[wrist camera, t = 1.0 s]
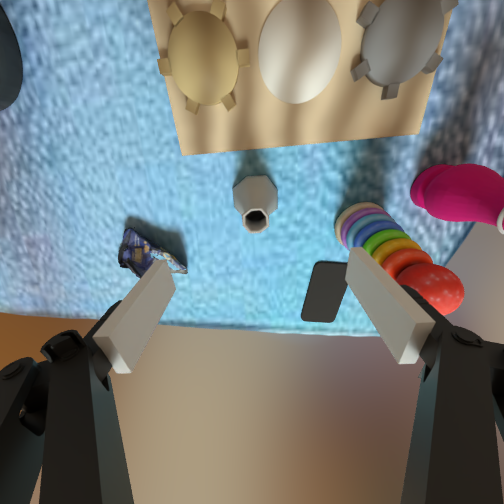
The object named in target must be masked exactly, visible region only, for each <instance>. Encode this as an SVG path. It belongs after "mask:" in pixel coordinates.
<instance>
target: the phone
mask: <svg viewBox="0 0 504 504" xmlns="http://www.w3.org/2000/svg"><path fill="white" fill-rule="evenodd" d="M347 265H348V264H347V263H334V262H318V263H316V264H315V265H314V268H313V272H312V275H311V279H310V283H309V287H308V290H307V294H306V298H305V301H304V305H303V309H302V313H301V319H302V320H303V321H309V322H325V323H330V322H333V321H334V320H335V318H336V315H337V312H338V310H339V307H340V304H341V301H342V299H343V296H344V293H345V291H346V288H347V285H348V284H347V282H346V280H345V277H346V271H347Z"/></svg>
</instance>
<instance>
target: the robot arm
mask: <svg viewBox="0 0 504 504" xmlns="http://www.w3.org/2000/svg"><path fill="white" fill-rule="evenodd" d="M21 84H22V62H21V56H20V52H19V48H18V44H17V41H16V38H15V36H14V33H13V31H12V28H11V26H10V24H9V22H8V20H7V18H6V16H5V14H4V12H3V10H2V8H1V7H0V111H1V110H4V109H6V108H7V107H9V106H10V105H11V104H12V103H13V102H14V101H15V100H16V98H17V96H18V94H19V92H20V89H21ZM345 280H346V282H347V284H348V285H349V287H350V288H351V290H352V291H353V293H354V295H355V296H356V298H357V299H358V301H359V303H360V304H361V306H362V307H363V309H364V310H365V312H366V314H367V315H368V317H369V318H370V320H371V321H372V323H373V325H374V326H375V328H376V329H377V331H378V333H379V334H380V336H381V337H382V339H383V340H384V342H385V343H386V345H387V347H388V348H389V350H390V351H391V353H392V354H393V356H394V358H395V359H396V361H397V363H398V364H415V363H416V361H417V359H418V357H419V355H420V357H421V358H422V359H423V361H424V362H425V365H424V367H423V369H422V371H421V372H420V374H419V376H418V378H421V383H420V389H419V395H418V401H417V407H416V413H415V420H414V425H413V431H412V437H411V443H410V449H409V456H408V461H407V467H406V473H405V479H404V486H403V491H402V497H401V504H503V496H502V487H501V476H500V467H499V457H498V446H497V437H496V427H495V421H496V424H497V426H498V429H499V431H500V434H501V436H502V438H503V441H504V344H499V343H494V342H489V341H484V340H483V339H482V338H481V337H480V336H478V335H476V334H475V333H473V332H472V331H470V330H467V329H465V328H462V327H458V326H453V325H452V324H451V323H450V322H449V321H448V320H447V319H446V318H445V317H444V316H443V315H442V314H441V313H439V312H438V311H437V310H436V309H435V308H434V307H433V306H432V305H431V304H429V302H428V301H427V300H426V299H424V298H423V296H421V295H420V294H419V293H418V292H417V291H416V290H415V289H413V288H411V287H409V286H408V285H399V284H398V283H397V282H396V281H395V280H394V279H393V278H392V277H391V276H390V275H389V274H388V273H387V272H386V271H385V270H384V269H383V268H382V267H381V266H380V265H379V264H378V263H377V262H376V261H375V260H374V259H373V258H372V257H371V256H370V255H369V254H368V253H367V252H366V251H365V250H364V249H363V248H362V247H352V248H350V253H349V259H348V265H347V271H346V277H345ZM175 290H176V287H175V284H174V281H173V278H172V275H171V272H170V269H169V266H168V263H167V260H166V259H165V260H156V261H155V262H154V263H153V264H152V265H151V267H150V268H149V269H148V270H147V272H146V273H145V274H144V275H143V276H142V278H141V279H140V280H139V281H138V282H137V284H136V285H135V286H134V287H133V288H132V290H131V291H130V292H129V293H128V295H127V296H126V297H125V298H124V299H123V300H119V301H118V302H116V303H115V304H114V305H112V306H111V307H110V308H109V309H108V310H107V312H106V313H105V315H103V316H102V317H101V318H100V321H98V322H97V323H96V324H95V325H94V327H93V328H92V329H91V330H90V331H89V332H88V333H87V335H86V336H85V337H84V338H82V337H81V336H80V334H79V333H78V331H76V330H67V331H64V332H61V333H59V334H57V335H56V336H54V337H52V338H51V339H50V340H48V341H47V342H46V343H45V344H44V345H43V346H42V348H41V351H40V352H41V353H42V354H43V355H44V356H45V357H46V358H47V360H46V361H43V362H40V363H37V362H36V361H34V359H33V358H31V357H26V358H21V359H19V360H17V361H14V362H12V363H10V364H9V365H7V366H6V367H4V368H3V369H2V370H1V371H0V504H30V501H31V497H32V494H33V491H34V488H35V485H36V482H37V479H38V476H39V473H40V469H41V466H42V475H41V486H40V499H39V504H134V501H133V495H132V490H131V484H130V479H129V474H128V469H127V463H126V458H125V453H124V448H123V442H122V437H121V432H120V427H119V421H118V416H117V410H116V405H115V400H114V395H113V389H112V384H111V379H110V376H109V375H108V372H109V371H110V369H111V367H113V368H114V370H115V371H116V372H117V373H132V371H133V369H134V367H135V365H136V363H137V362H138V360H139V358H140V356H141V354H142V352H143V350H144V348H145V347H146V345H147V343H148V341H149V339H150V337H151V335H152V333H153V331H154V330H155V328H156V326H157V324H158V322H159V320H160V318H161V317H162V315H163V313H164V311H165V309H166V307H167V305H168V303H169V301H170V300H171V298H172V296H173V294H174V292H175ZM20 410H22V411H21V414H20ZM19 414H20V416H19Z"/></svg>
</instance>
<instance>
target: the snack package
mask: <svg viewBox="0 0 504 504" xmlns="http://www.w3.org/2000/svg"><path fill="white" fill-rule="evenodd" d="M134 228H135V227H134ZM127 247H128V248H127ZM126 248H127V249H126ZM124 249H125V250H124ZM150 253H154V254H155V253H157V254H159V255H161V256H163V257H165V258H166V259H167V260H169V261H170V262H171V263H172V264H173V265H175V266H176V267H177V268H179V269H180V270H173V269H172V268H170V267H169V269H170V272H171V273H182V274H187V273H188V272H187V268H186V267H185V266H183V265H182V264H181V263H179V261H178V260H177V259H176V258H175V257H174V256H173V255H172V254H170V252H168V251H166V250H165V249H163V247H161V246H159V245H157V244H155V243H153V242H152V241H150V240H148V239H146V238H144V237H142V236H140V235H139V234H138V233H137V232H136V231H134V230H133V229H132V228H128V229H126V230H125V231H124V236H123V243H122V248H121V249H120V251H119V254H118V262H119V264H120V267H122V268H129V269H130V270H131V271H132V272H133V273H134V274H136V276H137V277H139V278H140V279H141V278H142V276H143V275H144V274H145V273H146V272H147V270H148V269H149V268H150V267H151V265H152V264H153V263H154V262H155V261H156V260H159V259H157V258H155V257H154V256H153V257H154V258H151V255H150ZM157 256H158V255H157ZM183 269H186V270H183Z"/></svg>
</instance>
